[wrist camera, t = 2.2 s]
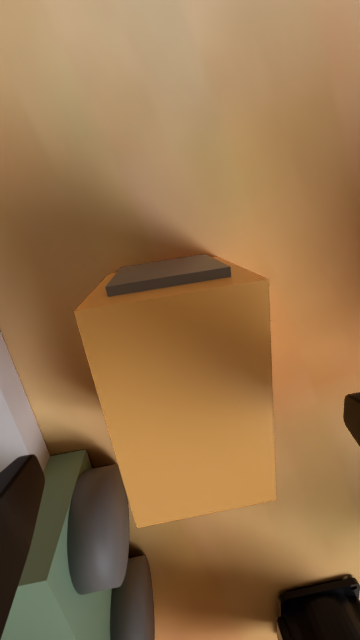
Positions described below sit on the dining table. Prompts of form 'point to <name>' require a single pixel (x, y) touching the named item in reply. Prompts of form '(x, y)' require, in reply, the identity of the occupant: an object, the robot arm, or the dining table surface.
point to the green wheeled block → (72, 540)
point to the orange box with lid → (184, 384)
